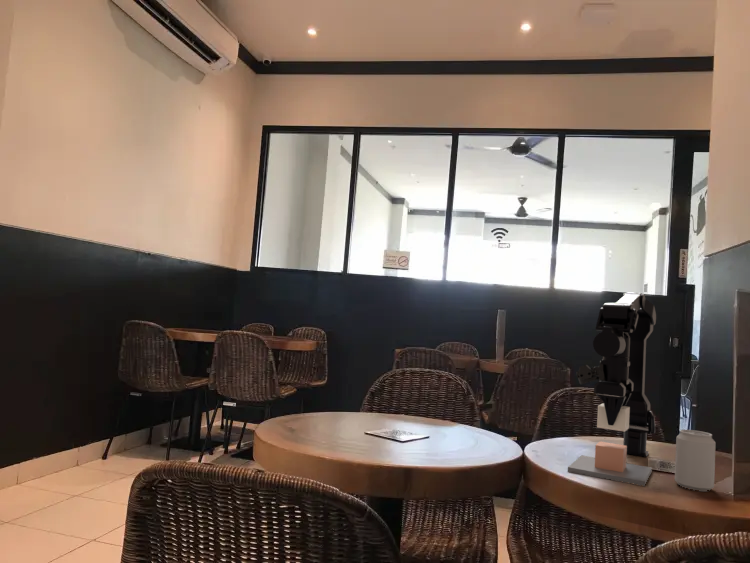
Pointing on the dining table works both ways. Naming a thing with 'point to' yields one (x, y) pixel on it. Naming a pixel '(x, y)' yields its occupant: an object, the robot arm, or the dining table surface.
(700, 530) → the dining table surface
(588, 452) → the dining table surface
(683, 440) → the can
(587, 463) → the baseplate
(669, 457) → the dining table surface
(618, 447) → the brick terracotta
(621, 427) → the brick cream
